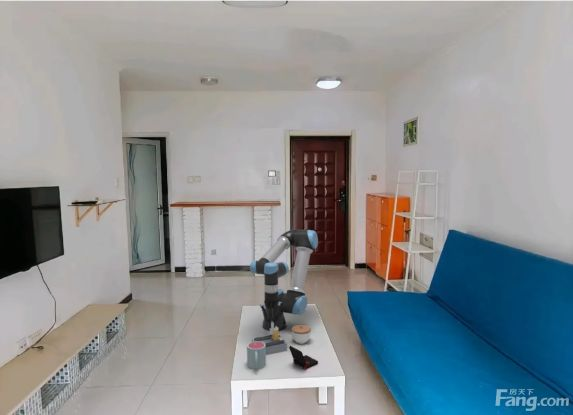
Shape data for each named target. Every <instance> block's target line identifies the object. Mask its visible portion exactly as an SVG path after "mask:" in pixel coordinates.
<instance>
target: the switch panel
mask: <svg viewBox="0 0 573 415" xmlns="http://www.w3.org/2000/svg"><path fill="white" fill-rule="evenodd" d="M278 336H279V339H280V340H279V341H274V342H273V341H272V340H271V337H272V335H271V334H269V335H263V336H258V337H254V338H253V339H251V342H255V341H260V342H263V343H265V345H266V356H267V355H272V354H277V353H282V352H285V351H288V343H287V342H286V341H285V339H283V338H282V337H281V335H280V334H278Z"/></svg>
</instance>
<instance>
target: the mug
mask: <svg viewBox="0 0 573 415" xmlns="http://www.w3.org/2000/svg"><path fill="white" fill-rule="evenodd" d="M266 357H267V355H266V345H265V343H263V342H260V341H255V342H252V341H251V342H248V343H247V345H246V358H247V359H246V361H247V362H246V365H247V367H248V368H249V369H252V370H260V369H263V368H265V367H266V365H267V364H266V363H267V358H266Z"/></svg>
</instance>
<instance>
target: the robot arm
mask: <svg viewBox="0 0 573 415" xmlns="http://www.w3.org/2000/svg"><path fill="white" fill-rule="evenodd" d="M318 238H319V237H318V234H317V232H316V231H315V230H311V229H297V228H293V229H289V230H287V231H285V232H284V233H282V234H281V235H280V236H279V237H277V239H276V242H275V243H274V244H272V246H270V248H268V250H267V251H266V252H265V253H264V254H263V255H262V256H261V257H260V259H258V260H252V261H251V262H250V264H249V270H250V273H251V274H255V275H263V276H264V284H263V285H264V286H263V287H264V289H263V290H264V300H263V303H262V304H259V307H260V309H261V311H262V314H263V321H262V329H264V330H266V331H269V335H272V334H274V328H275V326H277V327H278V332H280V331H282V330H285V328H287V320H286V317H285V313H286V314H291V315H298V316H299V315H303V314H304V313H305V311H306V308H307V306H308V297H307V296H306V292H305V290H304V289H305V283H306V280H307V279H306V278H307V273H308V268H309V263H310V257H311V254H312V253H314V249H317V248H318V245H319V239H318ZM290 248H295V250H296V256H295V261H294V266H293V271H292V276H291V283H290V287H289V288H287V290H286V292H284V290H283V289H281V288H279V278H281V277H284V276H285V275H287V274H288V273H289V271H290V267H289V265H288V264H287V262H284V261H281V262H280V261H279V262H276V260H278V258H279V257H280V256H281V255H282V254H283V253H284V252H285V250H288V249H290Z"/></svg>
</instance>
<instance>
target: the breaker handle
mask: <svg viewBox="0 0 573 415" xmlns="http://www.w3.org/2000/svg"><path fill="white" fill-rule="evenodd" d="M278 335H279V331H278V327H277V326H275V328H274V334H272V337H271V340H272V341H273V342H274V341H279V340H280V339H279V336H278Z"/></svg>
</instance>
